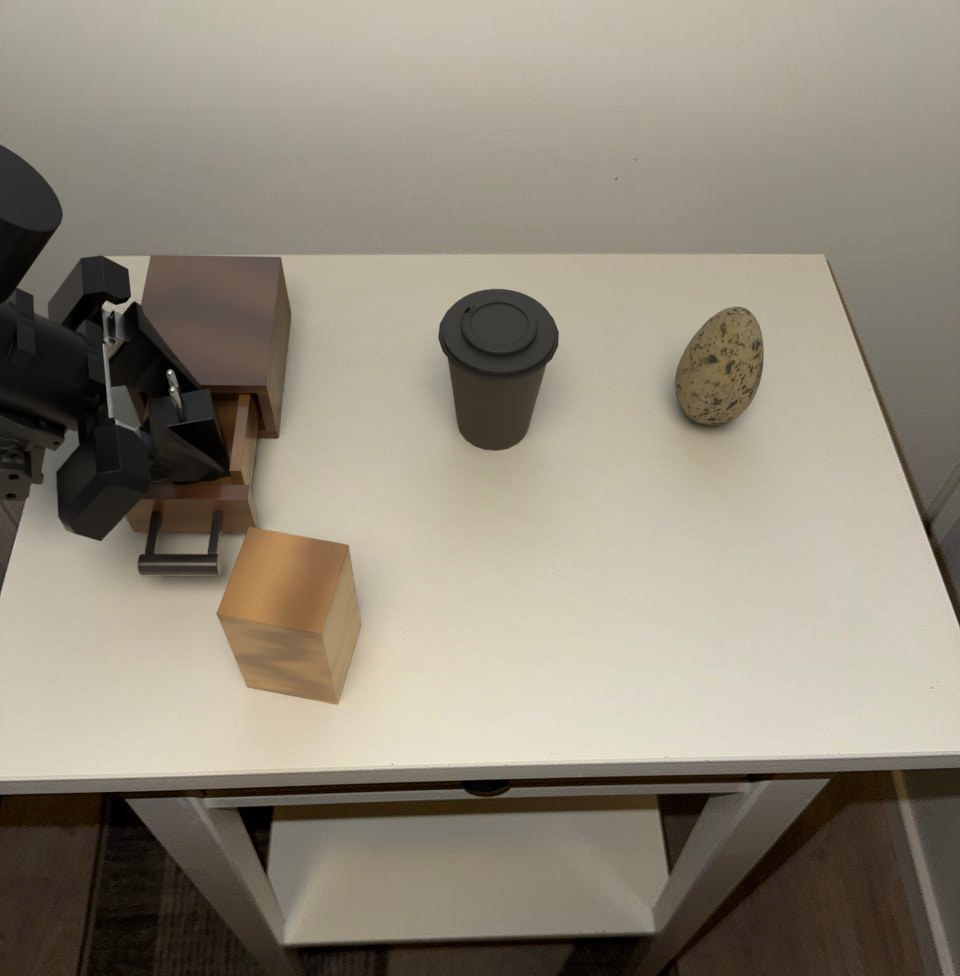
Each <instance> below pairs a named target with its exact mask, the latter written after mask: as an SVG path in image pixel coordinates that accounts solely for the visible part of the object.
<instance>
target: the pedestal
mask: <svg viewBox="0 0 960 976" xmlns="http://www.w3.org/2000/svg"><path fill="white" fill-rule="evenodd" d="M245 533H246V534H245V536H244V539H243V542H242V545H241V546H240V550H239V552H238V555H237V556H236V557H237V558H236V560H235V563H234V566H233V568H232V571H231V573H230V576H229V579H228V582H227V585H226V587H225V590H224V592H223V595H222V598H221V600H220V603H219V606H218V608H217V611H216V616H217V619H218V621H219V624H220V626H221V628H222V630H223V633H224V636H225V637H226V641H227V643H228V645H229V648H230V650H231V652H232V655H233V657H234V659H235V661H236V664H237V667H238V669H239V671H240V674H241V676H242V679H243V681H244V683H245V686H246V688H250V689H255V690H261V691H266V692H270V693H277V694H281V695H282V694H283V695H285V696H292V697H297V698H303V699H308V700H312V701H318V702H323V703H328V704H333V705H338V704H339V702H340V699H341V696H342V692H343V688H344V686H345V682H346V678H347V675H348V671H349V668H350V665H351V661H352V657H353V654H354V651H355V648H356V645H357V640H358V637H359V634H360V631H361V626H362V621H361V613H360V609H359V601H358V595H357V590H356V584H355V583H356V582H355V576H354V570H353V564H352V557H351V550H350V545H349V544H346V543H341V542H335V541H331V540H326V539H319V538H314V537H308V536H304V535H299V534H291V533H287V532H282V531H275V530H270V529H264V528H259V527H258V528H254V527H249V528H248V531H247V532H245Z"/></svg>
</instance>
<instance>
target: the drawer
mask: <svg viewBox="0 0 960 976" xmlns="http://www.w3.org/2000/svg"><path fill="white" fill-rule="evenodd" d="M211 395H212V398H213V401H214V405H215V408H216V411H217V415H218V418H219V421H220V424H221V428H222V431H223V434H224V438H225V441H226V444H227V447H228V453H229V458H230V467H229V471H230V475H231V476H228V477H223V478H218V479H217V480H216V481H212V482H196V483H191V484H186V485H174V484H173V482H158V483H150V485H149V488H148V491H147V494H146V495H145V496H144V497H143V498H142V499H141V500H140V501H139V502H138V503H137V504H136V505H135V506H134V507H133V508H132V509H131V510H130V511H129V513H128V514H127V515H126V516H125V519H126V521H127V522H128V524H129V526H130V529H131V530H132V532H133V533H147V537H146V543H145V548H144V553H140V554H139V555H138V558H137V570H138V573H139V575H140V576H141V577H220V576H221V574H222V568H223V565H222V558H221V554H220V548H221V540H222V533H247V531H248V528H249V527H254V528H259V521H260V518H259V513H258V511H257V508H256V505H255V501H254V497H253V494H252V483H253V474H254V465H255V458H256V457H255V456H256V449H257V439H258V438H257V432H258V423H259V414H260V404H259V400H258V396H257V393H211ZM152 398H158V397H155V396H153V395H150V394H149V395H148V399H152ZM148 416H150V415H149V408H148V400H147V405H146V411H145V416H144V420H145V419H146V418H147V417H148ZM143 422H144V421H143ZM161 533H209V539H208V546H207V553H158V547H159V543H160V536H161Z"/></svg>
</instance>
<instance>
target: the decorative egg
mask: <svg viewBox="0 0 960 976" xmlns="http://www.w3.org/2000/svg"><path fill="white" fill-rule="evenodd" d="M764 357H765V350H764V339H763V333H762V329H761V326H760V323H759V321H758V319H757V318H756V316H755V315H754V314H753V313H752V311H750V310H749V309H747V308H745V307H742V306H730V307H727V308H724V309H722V310H720V311H718V312H717V313H715V314H713V315H712V316H711V317H710V318H708V319H707V321H705V323H703V325H702V326H701V327H700V328H699V329H698V330H697V331H696V332H695V334H694V335H693V337H692V338H691V339H690V340H689V342H688V344H687V345H686V347H685V349H684V351H683V353H682V355H681V357H680V359H679V362H678V363H677V367H676V370H675V371H676V372H675V377H674V393H675V397H676V400H677V403H678V405H679V407H680V409H681V411H682V412H683V413H684V414H685V415H686V416H687V417H688V418H690V420H691V421H694V422H695V423H697V424H700V425H704V426H712V427H713V426H720V425H725V424H728V423H730V422H732V421H733V420H735V419H737V418H739V416H741V415H742V414H743V413H744V412H745V411H746V410H747V409H748V408H749V406H750V405H751V404H752V402H753V401H754V399H755V397H756V394H757V392H758V390H759V387H760V384H761V380H762V377H763V370H764V360H765V359H764Z"/></svg>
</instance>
